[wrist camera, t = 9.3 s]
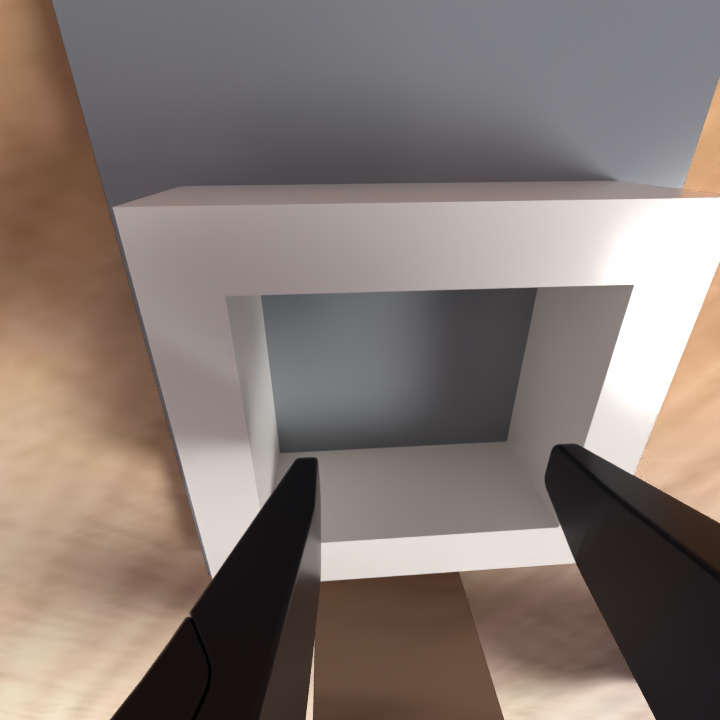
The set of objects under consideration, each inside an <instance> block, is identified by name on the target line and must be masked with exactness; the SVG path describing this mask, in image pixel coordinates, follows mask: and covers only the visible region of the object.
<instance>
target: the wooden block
mask: <svg viewBox="0 0 720 720" xmlns="http://www.w3.org/2000/svg"><path fill="white" fill-rule="evenodd" d="M313 720H504V718H503V715H502V711H501V708H500V705H499V702H498V698H497V695H496V692H495V689H494V685H493V682H492V679H491V676H490V672H489V669H488V666H487V663H486V659H485V656H484V653H483V650H482V647H481V643H480V640H479V637H478V634H477V630H476V627H475V624H474V621H473V617H472V614H471V611H470V608H469V604H468V601H467V598H466V595H465V591H464V588H463V585H462V582H461V579H460V575H459V572H445V573H431V574H417V575H403V576H389V577H375V578H361V579H347V580H333V581H321V582H320V593H319V602H318V612H317V621H316V630H315V656H314V702H313Z"/></svg>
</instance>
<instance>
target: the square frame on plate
mask: <svg viewBox="0 0 720 720" xmlns="http://www.w3.org/2000/svg"><path fill="white" fill-rule="evenodd" d="M52 3H53V7H54V10H55V14H56V18H57V21H58V25H59V29H60V32H61V36H62V40H63V43H64V47H65V51H66V54H67V58H68V62H69V65H70V69H71V73H72V76H73V80H74V83H75V87H76V91H77V94H78V98H79V102H80V105H81V109H82V113H83V116H84V120H85V124H86V127H87V131H88V135H89V138H90V142H91V146H92V149H93V153H94V157H95V160H96V164H97V168H98V171H99V175H100V179H101V182H102V186H103V190H104V193H105V197H106V201H107V204H108V208H109V212H110V215H111V219H112V223H113V226H114V230H115V234H116V237H117V241H118V245H119V248H120V252H121V256H122V259H123V263H124V267H125V270H126V274H127V278H128V281H129V285H130V289H131V292H132V296H133V300H134V303H135V307H136V311H137V314H138V318H139V321H140V325H141V329H142V332H143V336H144V340H145V343H146V347H147V351H148V354H149V358H150V362H151V365H152V369H153V373H154V376H155V380H156V384H157V387H158V391H159V395H160V398H161V402H162V406H163V409H164V413H165V417H166V420H167V424H168V428H169V431H170V435H171V439H172V442H173V446H174V450H175V453H176V457H177V461H178V464H179V468H180V472H181V475H182V479H183V483H184V486H185V490H186V494H187V497H188V501H189V505H190V508H191V512H192V516H193V519H194V523H195V527H196V530H197V534H198V538H199V541H200V545H201V549H202V552H203V556H204V560H205V563H206V567H207V570H208V574H209V575H211V576H212V579H213V578H214V576H215V575H216V573H217V572H218V570H219V569H220V568H221V566H222V565H223V563H224V562H225V560H226V559H227V557H228V556H229V555H230V553H231V552H232V550H233V549H234V547H235V546H236V544H237V543H238V542H239V540H240V539H241V537H242V536H243V534H244V533H245V531H246V530H247V528H248V527H249V526H250V524H251V523H252V521H253V520H254V518H255V517H256V515H257V514H258V513H259V511H260V510H261V508H262V507H263V505H264V504H265V502H266V501H267V500H268V498H269V497H270V495H271V494H272V492H273V491H274V489H275V488H276V486H277V485H278V484H279V482H280V481H281V479H282V478H283V476H284V475H285V473H286V472H287V471H288V469H289V468H290V466H291V465H292V463H293V462H294V460H295V459H297V458H301V457H316V458H317V459H318V463H319V477H320V493H321V581H333V580H347V579H361V578H375V577H389V576H403V575H417V574H431V573H445V572H459V571H473V570H487V569H501V568H515V567H529V566H543V565H557V564H571V563H576V562H575V560H574V558H573V555H572V553H571V551H570V548H569V546H568V543H567V541H566V538H565V536H564V533H563V530H562V528H561V525H560V523H559V520H558V518H557V515H556V513H555V510H554V507H553V505H552V502H551V500H550V497H549V495H548V492H547V490H546V487H545V481H544V477H545V472H546V468H547V464H548V461H549V457H550V453H551V450H552V448H553V446H555V445H557V444H568V443H574V444H578V445H580V446H582V447H584V448H585V449H587V450H589V451H591V452H593V453H594V454H596V455H598V456H600V457H602V458H603V459H605V460H607V461H609V462H611V463H612V464H614V465H616V466H618V467H620V468H621V469H623V470H625V471H627V472H629V473H630V474H632V475H634V473H635V470H636V468H637V465H638V463H639V460H640V458H641V455H642V453H643V450H644V448H645V445H646V443H647V440H648V438H649V435H650V433H651V430H652V428H653V425H654V423H655V420H656V418H657V415H658V413H659V410H660V408H661V405H662V403H663V400H664V398H665V395H666V393H667V390H668V388H669V385H670V383H671V380H672V378H673V375H674V373H675V370H676V368H677V365H678V363H679V360H680V358H681V355H682V353H683V350H684V348H685V345H686V343H687V340H688V338H689V335H690V333H691V330H692V328H693V325H694V323H695V320H696V318H697V315H698V313H699V310H700V308H701V305H702V303H703V300H704V298H705V295H706V293H707V290H708V288H709V285H710V283H711V280H712V278H713V275H714V273H715V270H716V268H717V265H718V263H719V260H720V194H716V193H708V192H700V191H693V190H685V189H683V186H684V183H685V180H686V177H687V173H688V170H689V167H690V164H691V161H692V158H693V155H694V152H695V149H696V146H697V143H698V140H699V137H700V134H701V131H702V128H703V125H704V122H705V119H706V116H707V113H708V110H709V107H710V104H711V101H712V98H713V95H714V92H715V89H716V86H717V83H718V80H719V77H720V0H52Z"/></svg>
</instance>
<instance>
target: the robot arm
mask: <svg viewBox="0 0 720 720" xmlns="http://www.w3.org/2000/svg"><path fill="white" fill-rule="evenodd" d="M544 481H545V487H546V490H547V492H548V495H549V497H550V500H551V502H552V505H553V507H554V510H555V513H556V515H557V518H558V520H559V523H560V525H561V528H562V530H563V533H564V536H565V538H566V541H567V543H568V546H569V548H570V551H571V553H572V555H573V558H574V560H575V562H576V564H577V566H578V568H579V570H580V573H581V575H582V576H583V578H584V580H585V582H586V584H587V586H588V588H589V590H590V592H591V594H592V596H593V598H594V600H595V602H596V604H597V606H598V608H599V610H600V612H601V614H602V615H603V617H604V619H605V621H606V623H607V625H608V627H609V629H610V631H611V633H612V635H613V637H614V639H615V641H616V643H617V645H618V647H619V649H620V651H621V653H622V654H623V656H624V658H625V660H626V662H627V664H628V666H629V668H630V670H631V672H632V674H633V676H634V678H635V680H636V682H637V684H638V686H639V688H640V690H641V691H642V693H643V695H644V697H645V699H646V701H647V703H648V705H649V707H650V709H651V711H652V713H653V715H654V717H655V719H656V720H720V523H718V522H717V521H715V520H713V519H711V518H709V517H708V516H706V515H704V514H702V513H700V512H699V511H697V510H695V509H693V508H691V507H690V506H688V505H686V504H684V503H682V502H681V501H679V500H677V499H675V498H673V497H672V496H670V495H668V494H666V493H664V492H663V491H661V490H659V489H657V488H655V487H654V486H652V485H650V484H648V483H646V482H645V481H643V480H641V479H639V478H638V477H636V476H634V475H632V474H630V473H629V472H627V471H625V470H623V469H621V468H620V467H618V466H616V465H614V464H612V463H611V462H609V461H607V460H605V459H603V458H602V457H600V456H598V455H596V454H594V453H593V452H591V451H589V450H587V449H585V448H584V447H582V446H580V445H578V444H574V443H568V444H557V445H555V446H553V448H552V450H551V453H550V457H549V461H548V464H547V468H546V472H545V477H544ZM320 582H321V493H320V477H319V463H318V459H317V458H316V457H301V458H297V459H295V460H294V462H293V463H292V465H291V466H290V468H289V469H288V471H287V472H286V473H285V475H284V476H283V478H282V479H281V481H280V482H279V484H278V485H277V486H276V488H275V489H274V491H273V492H272V494H271V495H270V497H269V498H268V500H267V501H266V502H265V504H264V505H263V507H262V508H261V510H260V511H259V513H258V514H257V515H256V517H255V518H254V520H253V521H252V523H251V524H250V526H249V527H248V528H247V530H246V531H245V533H244V534H243V536H242V537H241V539H240V540H239V542H238V543H237V544H236V546H235V547H234V549H233V550H232V552H231V553H230V555H229V556H228V557H227V559H226V560H225V562H224V563H223V565H222V566H221V568H220V569H219V570H218V572H217V573H216V575H215V576H214V578H213V579H212V581H211V582H210V584H209V585H208V586H207V588H206V589H205V591H204V592H203V594H202V595H201V597H200V598H199V599H198V601H197V602H196V604H195V605H194V607H193V608H192V610H191V611H190V617H186V618H185V619H184V621H183V622H182V624H181V625H180V627H179V628H178V629H177V631H176V632H175V634H174V635H173V637H172V638H171V640H170V641H169V643H168V644H167V645H166V647H165V648H164V650H163V651H162V652H161V654H160V655H159V656H158V658H157V659H156V661H155V662H154V663H153V665H152V666H151V667H150V669H149V670H148V672H147V673H146V674H145V676H144V677H143V678H142V680H141V681H140V682H139V684H138V685H137V686H136V688H135V689H134V690H133V691H132V693H131V694H130V695H129V696H128V698H127V699H126V700H125V701H124V703H123V704H122V705H121V706H120V708H119V709H118V710H117V711H116V713H115V714H114V715H113V716H112V718H111V719H110V720H306V711H307V702H308V693H309V684H310V675H311V666H312V657H313V648H314V639H315V630H316V621H317V612H318V602H319V593H320Z"/></svg>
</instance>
